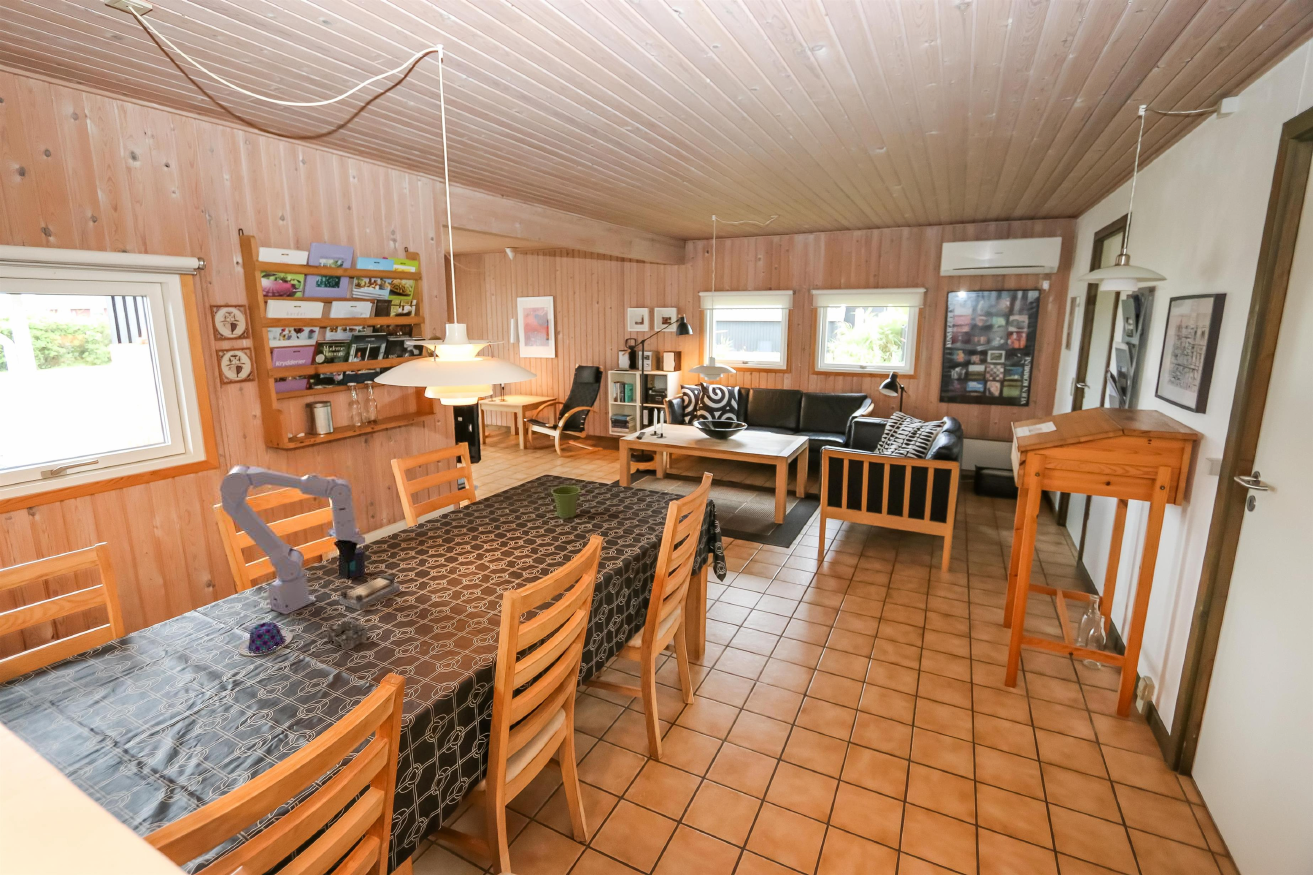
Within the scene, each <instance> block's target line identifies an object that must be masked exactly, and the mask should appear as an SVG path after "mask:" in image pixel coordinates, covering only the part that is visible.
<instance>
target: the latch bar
mask: <svg viewBox="0 0 1313 875" xmlns="http://www.w3.org/2000/svg"><path fill="white" fill-rule="evenodd" d="M389 584H391V583H390V581H388V580H384V579H381V578H380V577H378V578H376V579H374V580H372V581H370V582H368V583H366V584H364V585H362V586H359V587H358V588H356V589H354V591H353V590H352V592H351V591H349V592H350V593H349V592H347V593H348V594H346V597H348V598H351V599H354V600H356V596H357V595H359V594H361V595H362V598H364V597H366V596H368V595H370V594H372V593H373V592H375V591H377V590H379V589H381V588H383V587H385V586H387V585H389Z"/></svg>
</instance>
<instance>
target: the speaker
mask: <svg viewBox="0 0 1313 875" xmlns="http://www.w3.org/2000/svg"><path fill="white" fill-rule="evenodd" d="M365 571H366V549H365V548H362V547H357V548H356V551H355V556H354V561H353V562H351V563H348V564H347V563H345V562H344V560H343V557H342V555H341V553H340V551H339V550H338V577H340V576H341V578H343V579H344V580H348V581H349V577H352V578H354V577H360V576H363V575H365V574H366V572H365Z"/></svg>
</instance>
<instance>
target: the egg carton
mask: <svg viewBox="0 0 1313 875" xmlns="http://www.w3.org/2000/svg"><path fill="white" fill-rule="evenodd" d="M323 628H325V629H326V630H327V633H326V639H327V642H333V644H334V646H340V645H341V646H340V647H341V649H342V650H346V649H349V650H351V649H352V648H354V647H355V645H356V644H359V643H365V642H367V639H368V629H369V627H367V626H365V625H363V623H360V622H359V621H357V620H356V619H354V618H350V619H348V620H345V621H344V620H343V621H342V622H341V623H339V622H338V623H337V624H336V626H334V627H333V626H332V625H328V626H327V625H324V626H323ZM343 631H344V634H342V632H343ZM341 634H342V635H341ZM337 636H339V637H337Z"/></svg>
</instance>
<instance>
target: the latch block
mask: <svg viewBox="0 0 1313 875" xmlns="http://www.w3.org/2000/svg"><path fill="white" fill-rule="evenodd" d="M379 578H381V579H384V580H388V581H390V583H391V584H389V585H387V586H385V587H383V588H381V589H379V590H377V591H375V592H373V593H372V594H370V595H368V596H366V597H364V598H362V595H361V594H359V595H357V596H356V600H354V599H351V598H348V597H346V594H348V593H350V592H352V591H354V590H355V589H354V590H352V591H349V592H348V590H347V589H346V588H345V589H342V590H340V596H338V600H339V604H341V605H344V606H347V607H349V608H352V609H355V610H358V611H361V610H364V609H366V608H368V607H369V606H370V607H371V606H372V605H373V604H376V603H377V602H379V601H381V600H383V599H385V598H387V597H389V596H392V595H393V594H395V593H397V592H399V591H400V590H401V587H400V583H396V582H395V577H394V576H391V575H387V574H384V573H381V574H380V575H379Z"/></svg>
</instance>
